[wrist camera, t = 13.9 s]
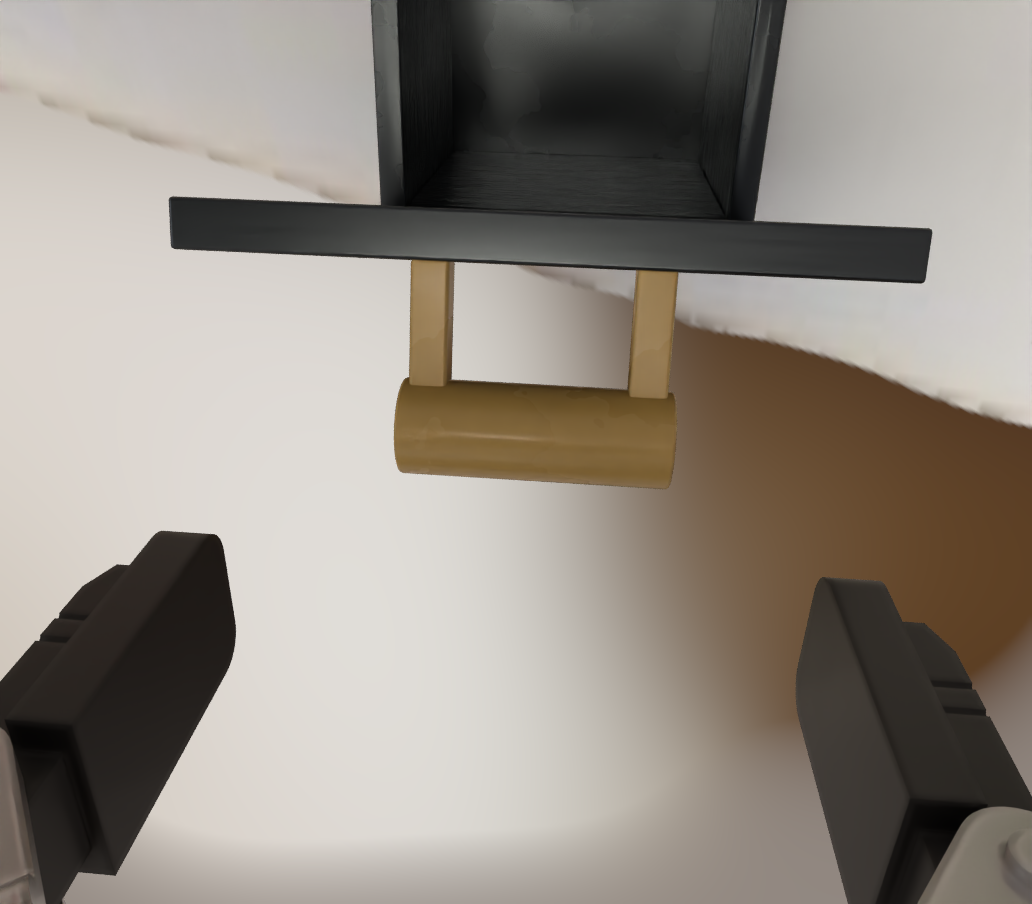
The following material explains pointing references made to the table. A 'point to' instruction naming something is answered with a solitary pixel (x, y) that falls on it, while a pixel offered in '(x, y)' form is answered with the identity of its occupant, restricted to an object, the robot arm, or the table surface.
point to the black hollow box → (575, 104)
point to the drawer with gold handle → (558, 243)
